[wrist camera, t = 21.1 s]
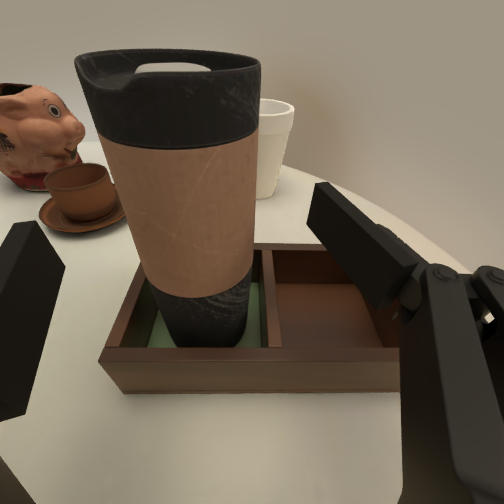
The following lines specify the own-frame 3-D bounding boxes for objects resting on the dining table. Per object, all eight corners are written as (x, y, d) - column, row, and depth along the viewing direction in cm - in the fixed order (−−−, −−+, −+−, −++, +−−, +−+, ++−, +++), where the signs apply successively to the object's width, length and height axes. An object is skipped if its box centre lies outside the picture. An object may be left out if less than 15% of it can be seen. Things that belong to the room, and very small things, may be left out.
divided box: (160, 279, 29) (149, 240, 25) (361, 281, 30) (378, 244, 26) (123, 394, 20) (97, 361, 16) (409, 392, 21) (447, 361, 17)
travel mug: (237, 283, 28) (237, 49, 14) (260, 348, 23) (294, 72, 9) (164, 299, 26) (85, 46, 13) (170, 374, 21) (44, 73, 7)
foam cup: (283, 206, 41) (295, 118, 32) (225, 202, 42) (222, 113, 33) (283, 179, 48) (293, 100, 39) (233, 175, 49) (233, 96, 40)
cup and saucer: (40, 208, 38) (16, 168, 34) (123, 186, 44) (111, 150, 40) (53, 253, 31) (25, 210, 27) (150, 220, 37) (138, 181, 33)
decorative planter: (-47, 201, 39) (-138, 95, 30) (1, 166, 48) (-57, 76, 39) (93, 197, 41) (50, 97, 32) (114, 164, 50) (85, 79, 41)
